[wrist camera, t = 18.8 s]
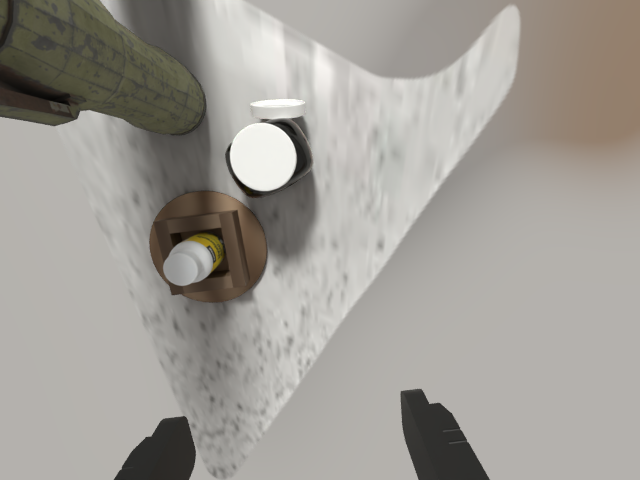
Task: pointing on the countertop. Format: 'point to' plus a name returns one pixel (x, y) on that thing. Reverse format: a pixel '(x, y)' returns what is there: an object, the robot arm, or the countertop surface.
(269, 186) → the spread jar
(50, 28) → the thermos
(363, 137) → the countertop surface
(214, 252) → the supplement bottle
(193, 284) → the holder
